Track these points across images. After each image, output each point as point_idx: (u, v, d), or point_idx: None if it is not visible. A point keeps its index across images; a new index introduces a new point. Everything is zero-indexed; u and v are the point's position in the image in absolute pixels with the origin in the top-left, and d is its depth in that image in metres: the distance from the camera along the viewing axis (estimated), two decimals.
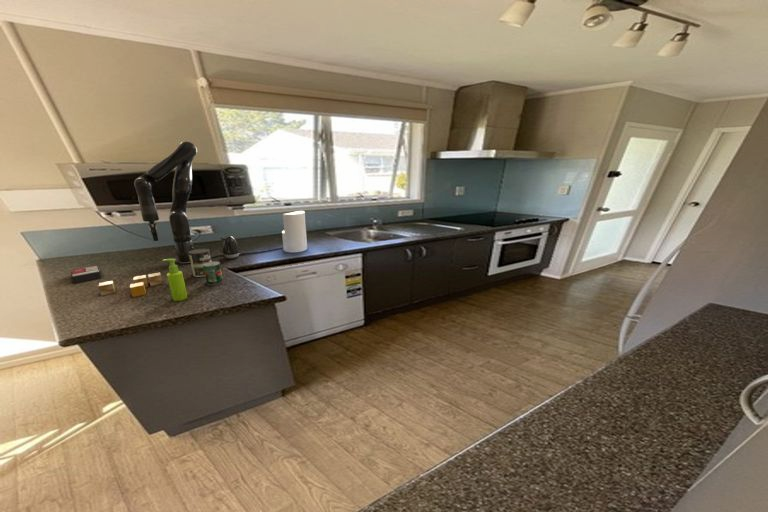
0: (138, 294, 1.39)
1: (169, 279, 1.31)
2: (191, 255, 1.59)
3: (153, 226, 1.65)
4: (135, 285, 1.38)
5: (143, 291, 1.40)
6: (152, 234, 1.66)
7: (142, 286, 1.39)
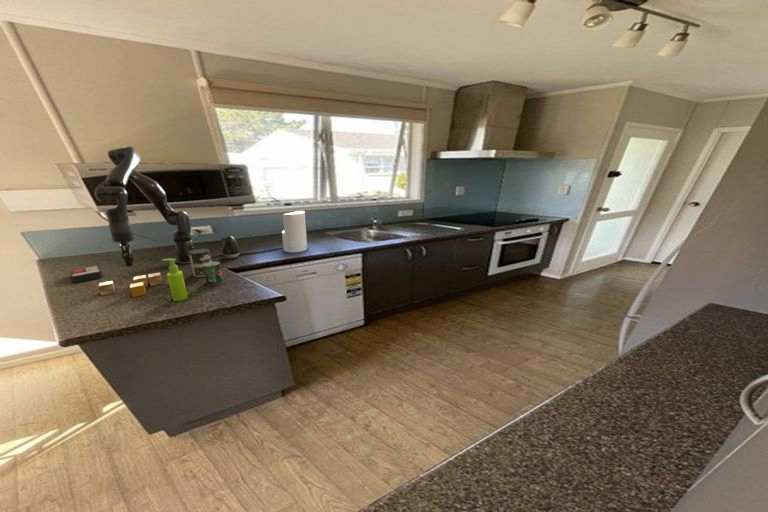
0: (138, 294, 1.39)
1: (169, 279, 1.31)
2: (191, 255, 1.59)
3: (125, 248, 1.29)
4: (135, 285, 1.38)
5: (143, 291, 1.40)
6: (124, 258, 1.30)
7: (142, 286, 1.39)
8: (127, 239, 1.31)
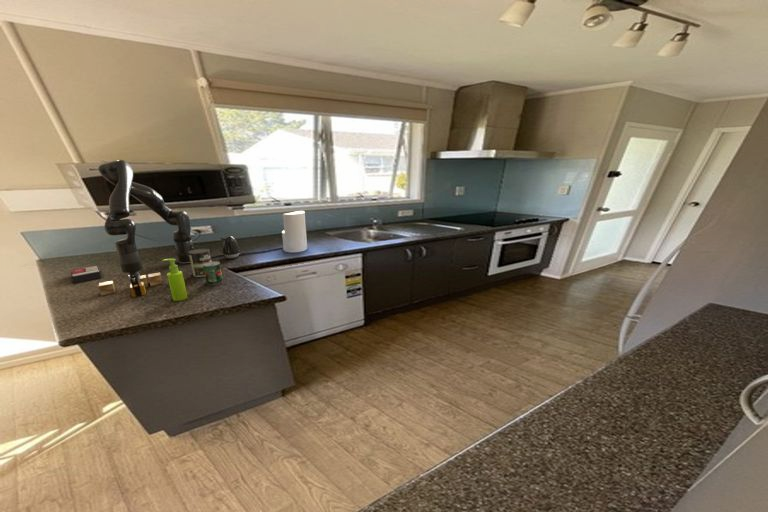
0: None
1: (169, 279, 1.31)
2: (191, 255, 1.59)
3: (135, 281, 1.34)
4: (135, 285, 1.38)
5: (143, 291, 1.40)
6: (134, 289, 1.35)
7: (142, 286, 1.39)
8: (136, 269, 1.35)
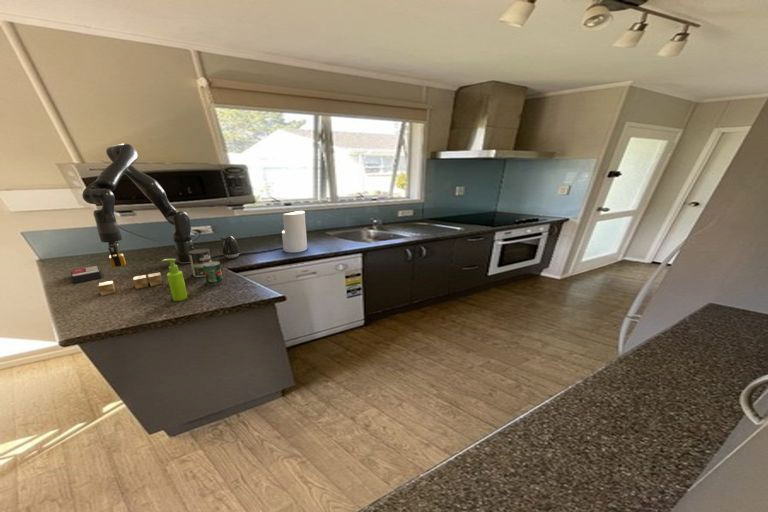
0: None
1: (169, 279, 1.31)
2: (191, 255, 1.59)
3: (114, 250, 1.34)
4: None
5: (123, 262, 1.40)
6: (113, 259, 1.36)
7: (121, 257, 1.40)
8: (115, 239, 1.36)
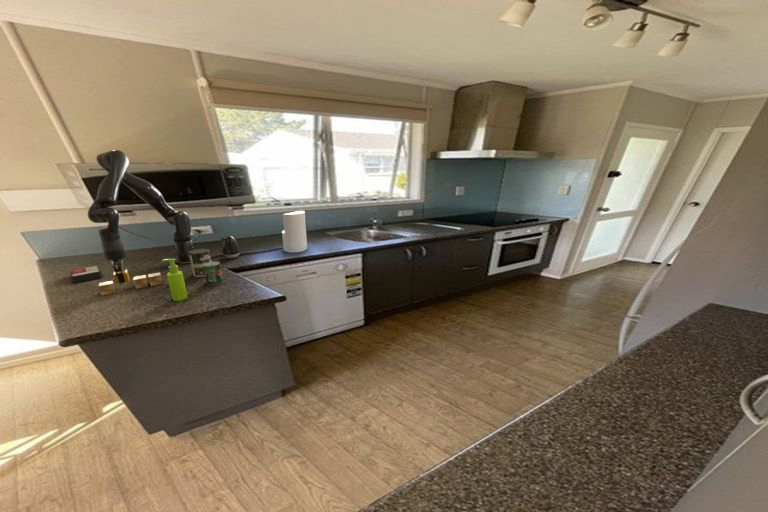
0: None
1: (169, 279, 1.31)
2: (191, 255, 1.59)
3: (118, 267, 1.37)
4: None
5: (127, 279, 1.43)
6: None
7: (125, 273, 1.42)
8: (119, 257, 1.39)
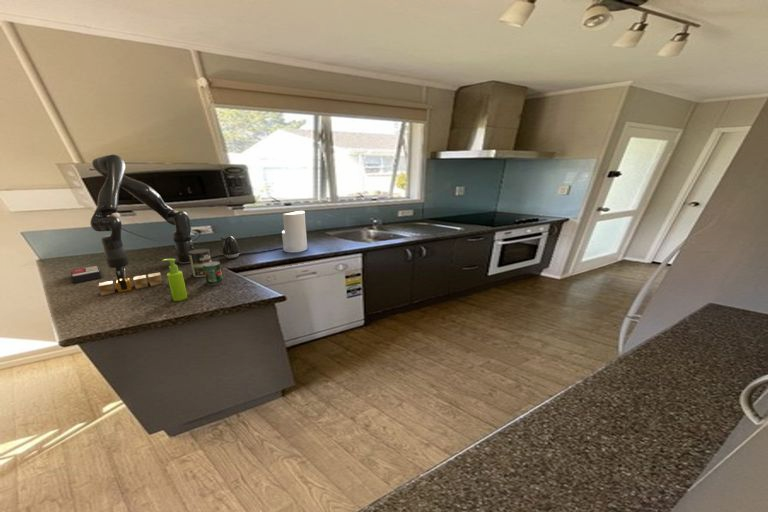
0: None
1: (169, 279, 1.31)
2: (191, 255, 1.59)
3: (120, 273, 1.38)
4: None
5: (129, 287, 1.45)
6: None
7: (128, 281, 1.44)
8: (122, 264, 1.40)
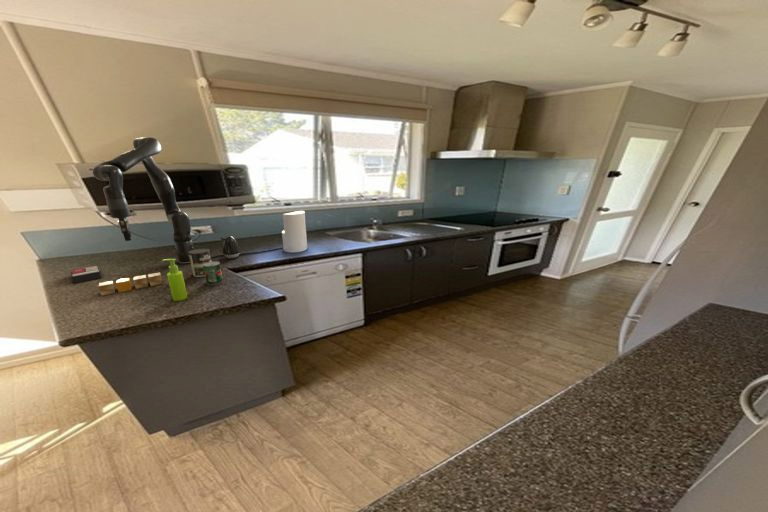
0: (124, 289, 1.44)
1: (169, 279, 1.31)
2: (191, 255, 1.59)
3: (123, 223, 1.39)
4: (121, 281, 1.43)
5: (129, 287, 1.45)
6: (123, 233, 1.40)
7: (128, 281, 1.44)
8: (124, 215, 1.41)
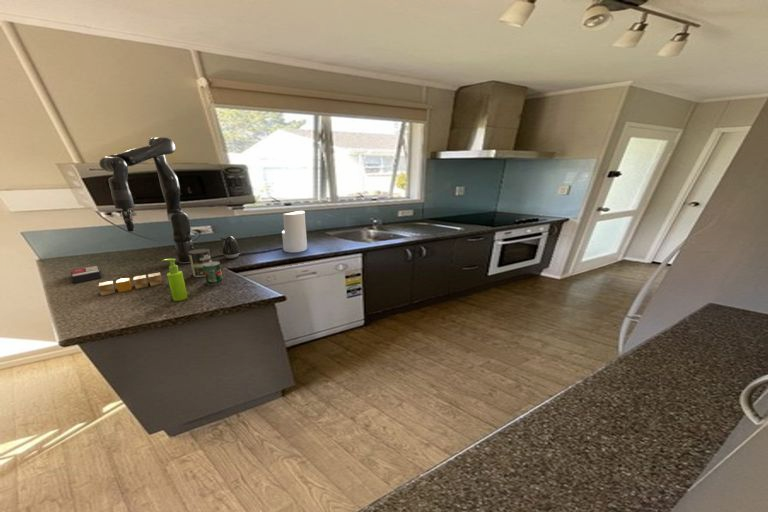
0: (124, 289, 1.44)
1: (169, 279, 1.31)
2: (191, 255, 1.59)
3: (126, 214, 1.42)
4: (121, 281, 1.43)
5: (129, 287, 1.45)
6: (125, 223, 1.43)
7: (128, 281, 1.44)
8: (128, 206, 1.44)
